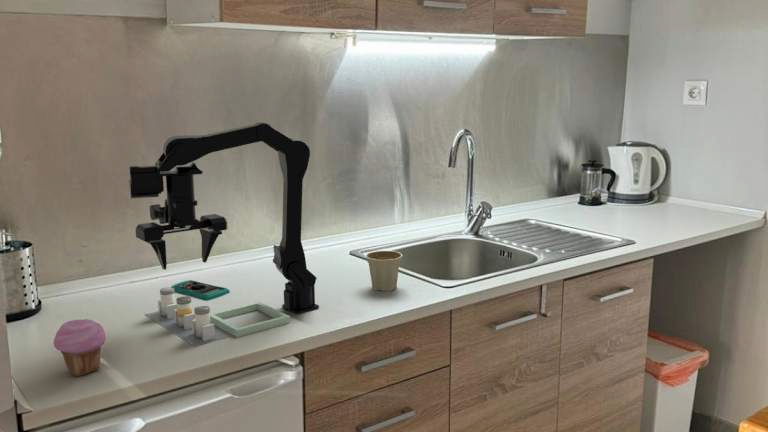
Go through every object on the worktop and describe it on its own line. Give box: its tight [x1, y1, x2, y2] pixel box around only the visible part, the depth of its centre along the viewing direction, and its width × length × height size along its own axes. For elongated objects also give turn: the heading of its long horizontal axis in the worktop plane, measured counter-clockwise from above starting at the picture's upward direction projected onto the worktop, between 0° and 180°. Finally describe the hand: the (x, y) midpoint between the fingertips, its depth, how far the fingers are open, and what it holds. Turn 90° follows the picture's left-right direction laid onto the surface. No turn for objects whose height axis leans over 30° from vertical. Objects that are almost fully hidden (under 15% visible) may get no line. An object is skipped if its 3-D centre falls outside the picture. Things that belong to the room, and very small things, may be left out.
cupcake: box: [53, 318, 107, 377], centre depth 136 cm, size 9×9×10 cm
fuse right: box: [193, 305, 211, 339], centre depth 150 cm, size 3×3×6 cm
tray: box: [210, 301, 291, 338], centre depth 159 cm, size 13×13×3 cm
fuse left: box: [159, 286, 176, 317], centre depth 162 cm, size 3×3×6 cm
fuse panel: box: [144, 299, 231, 347], centre depth 157 cm, size 8×25×4 cm, turn 40°
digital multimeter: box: [170, 279, 231, 301], centre depth 180 cm, size 7×15×3 cm, turn 56°
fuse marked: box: [175, 295, 193, 328], centre depth 156 cm, size 3×3×6 cm
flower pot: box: [365, 250, 403, 292], centre depth 185 cm, size 9×9×9 cm
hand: (184, 265), depth 159 cm, fingers open, 9 cm apart
